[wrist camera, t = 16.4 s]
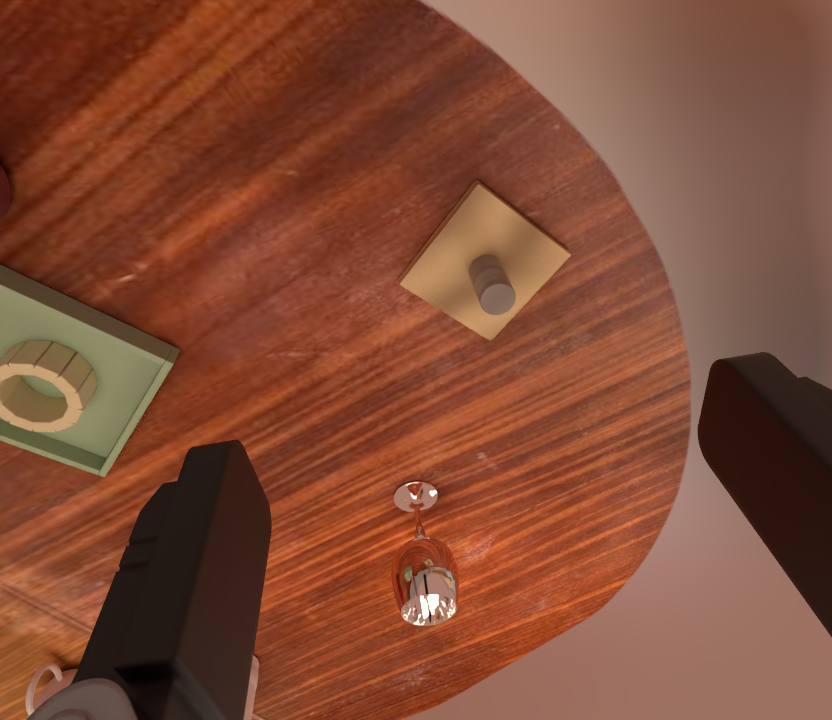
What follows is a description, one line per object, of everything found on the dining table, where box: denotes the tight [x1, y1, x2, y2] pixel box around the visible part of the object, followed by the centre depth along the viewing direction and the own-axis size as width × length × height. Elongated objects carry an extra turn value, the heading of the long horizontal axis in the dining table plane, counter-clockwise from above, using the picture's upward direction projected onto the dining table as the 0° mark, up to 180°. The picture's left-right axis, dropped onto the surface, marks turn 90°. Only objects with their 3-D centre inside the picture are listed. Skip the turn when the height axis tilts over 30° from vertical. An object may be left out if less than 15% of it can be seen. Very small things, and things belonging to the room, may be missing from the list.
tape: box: [0, 340, 97, 432], centre depth 41 cm, size 6×6×3 cm
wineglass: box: [391, 481, 459, 626], centre depth 50 cm, size 6×6×12 cm
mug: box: [26, 662, 78, 719], centre depth 65 cm, size 12×8×8 cm
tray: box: [0, 265, 180, 477], centre depth 42 cm, size 14×14×2 cm
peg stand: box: [398, 180, 571, 341], centre depth 39 cm, size 9×9×6 cm
